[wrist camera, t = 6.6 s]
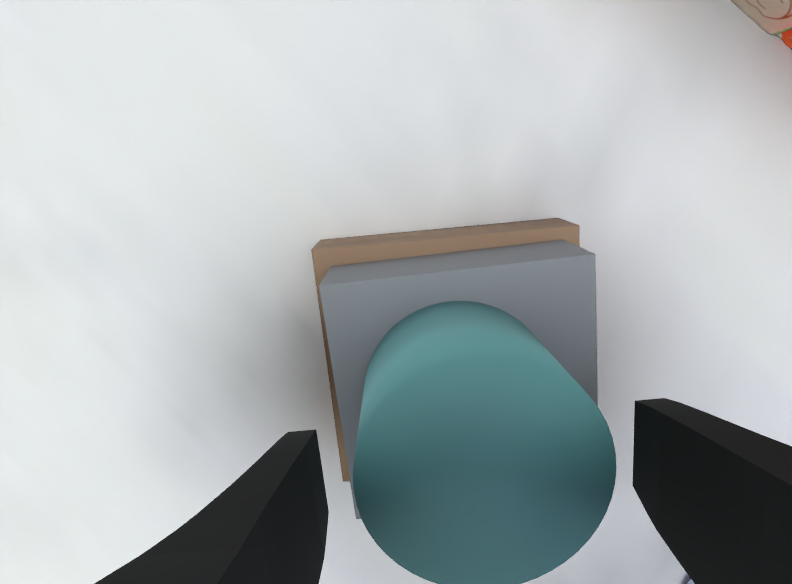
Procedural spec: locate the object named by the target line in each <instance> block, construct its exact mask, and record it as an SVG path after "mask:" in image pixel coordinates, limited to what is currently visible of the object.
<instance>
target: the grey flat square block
mask: <svg viewBox="0 0 792 584" xmlns="http://www.w3.org/2000/svg"><path fill="white" fill-rule="evenodd" d="M319 288H320V295H321V301H322V307H323V314H324V320H325V326H326V332H327V339H328V345H329V351H330V357H331V364H332V370H333V376H334V382H335V389H336V395H337V401H338V407H339V414H340V420H341V426H342V433H343V439H344V445H345V451H346V458H347V464H348V470H349V476H350V483H351V489H352V495H353V501H354V508H355V514H356V519H361V516H360V513H359V510H358V508H357V505H356V500H355V495H354V490H353V465H354V456H355V449H356V442H357V435H358V427H359V420H360V413H361V405H362V398H363V391H364V383H365V376H366V372H367V368H368V364H369V362H370V359H371V357H372V354H373V352H374V351H375V349H376V347H377V346H378V344H379V342H380V341H381V340H382V338H383V337H384V336H385V335H386V333H387V332H388V331H389V330H390V329H391V328H392V327H393V326H394V325H396V324H397V323H398V322H399V321H401V320H402V319H403V318H405V317H406V316H408V315H410V314H412V313H413V312H415V311H417V310H420V309H422V308H424V307H427V306H430V305H434V304H437V303H442V302H449V301H471V302H479V303H483V304H487V305H491V306H493V307H496V308H498V309H501V310H503V311H505V312H507V313H508V314H510V315H512V316H513V317H515V318H516V319H517V320H519V321H520V322H522V323H523V324H524V325H525V326H526V327H527V328H528V329H529V330H530V331H531V332H532V333H533V335H534V336H535V337H536V338H537V339H538V340H539V341H540V342H541V343H542V344H543V346H544V347H545V348H546V349H547V350H548V351H549V352H550V353H551V354H552V355H553V357H554V358H555V359H556V360H557V361H558V362H559V363H560V364H561V365H562V366H563V368H564V369H565V370H566V371H567V372H568V373H569V374H570V375H571V376H572V377H573V379H574V380H575V381H576V382H577V383H578V384H579V385H580V386H581V387H582V388H583V390H584V391H585V392H586V393H587V394H588V395H589V396H590V398H591V399H592V400H593V401H594V403H595V404H596V405H597V407H598V404H597V338H596V272H595V254H594V253H591V252H589V251H587V250H585V249H583V248H581V247H578V246H576V245H574V244H572V243H570V242H568V241H565V240H563V239H561V240H552V241H543V242H535V243H526V244H517V245H509V246H500V247H491V248H482V249H474V250H465V251H456V252H448V253H439V254H430V255H422V256H413V257H404V258H396V259H387V260H378V261H370V262H361V263H352V264H343V265H335V266H330V268H329V270H328V272H327V273H326V275H325V277H324V278H323V280H322V282H321V283H320V285H319Z"/></svg>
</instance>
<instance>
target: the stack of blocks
mask: <svg viewBox="0 0 792 584" xmlns="http://www.w3.org/2000/svg"><path fill="white" fill-rule="evenodd" d="M731 1H733V2H734V3H735V4H736V5H737V6H738V7H739V8H740V9H741V10H742V11H743V12H744V13H746V14H747V15H748V16H749V17H750V18H751V19H752V20H754V21H755V22H756V23H757V24H758V25H759V26H760V27H761V28H762V29H764V30H765V31H766V32H768V33H769V34H773V35H778V36H779V37H780V38H781V39H782V40H783V41H784V43H785V44H786V45H787V46H788V47H790V48H792V0H731Z"/></svg>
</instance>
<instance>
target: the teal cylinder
mask: <svg viewBox="0 0 792 584" xmlns="http://www.w3.org/2000/svg"><path fill="white" fill-rule="evenodd" d="M615 477H616V454H615V448H614V444H613V439H612V436H611V433H610V430H609V427H608V425H607V422H606V420H605V419H604V417H603V415H602V413H601V411H600V410H599V408H598V407H597V405H596V404H595V403H594V401H593V400H592V399H591V398H590V396H589V395H588V394H587V393H586V392H585V391H584V390H583V388H582V387H581V386H580V385H579V384H578V383H577V382H576V381H575V380H574V379H573V377H572V376H571V375H570V374H569V373H568V372H567V371H566V370H565V369H564V368H563V366H562V365H561V364H560V363H559V362H558V361H557V360H556V359H555V358H554V357H553V355H552V354H551V353H550V352H549V351H548V350H547V349H546V348H545V347H544V346H543V344H542V343H541V342H540V341H539V340H538V339H537V338H536V337H535V336H534V335H533V333H532V332H531V331H530V330H529V329H528V328H527V327H526V326H525V325H524V324H523V323H522V322H520V321H519V320H517V319H516V318H515V317H513V316H512V315H510V314H508V313H507V312H505V311H503V310H501V309H498V308H496V307H493V306H491V305H487V304H483V303H479V302H471V301H449V302H442V303H437V304H434V305H430V306H427V307H424V308H422V309H420V310H417V311H415V312H413V313H412V314H410V315H408V316H406V317H405V318H403V319H402V320H401V321H399V322H398V323H397V324H396V325H394V326H393V327H392V328H391V329H390V330H389V331H388V332H387V333H386V335H385V336H384V337H383V338H382V340H381V341H380V342H379V344H378V346H377V347H376V349H375V351H374V352H373V354H372V357H371V359H370V362H369V364H368V368H367V372H366V376H365V383H364V391H363V398H362V405H361V413H360V420H359V427H358V435H357V442H356V449H355V456H354V465H353V490H354V495H355V500H356V505H357V508H358V510H359V513H360V516H361V519H362V521H363V523H364V525H365V527H366V529H367V530H368V532H369V533H370V535H371V536H372V538H373V539H374V541H375V542H376V543H377V545H378V546H379V547H380V548H381V549H382V550H383V551H384V552H385V553H386V554H387V555H388V556H389V557H390V558H391V559H393V560H394V561H395V562H396V563H397V564H399V565H400V566H402V567H403V568H405V569H407V570H408V571H410V572H411V573H413V574H415V575H417V576H419V577H422V578H424V579H426V580H429V581H432V582H435V583H438V584H521V583H524V582H527V581H530V580H532V579H535V578H538V577H540V576H542V575H544V574H546V573H548V572H550V571H552V570H553V569H555V568H556V567H558V566H559V565H561V564H562V563H564V562H565V561H567V560H568V559H569V558H570V557H572V556H573V555H574V554H575V553H576V552H578V551H579V549H580V548H581V547H582V546H583V545H584V544H585V543H586V542H587V541H588V540H589V539H590V537H591V536H592V535H593V533H594V532H595V531H596V529H597V528H598V526H599V524H600V523H601V521H602V519H603V517H604V515H605V514H606V511H607V509H608V506H609V503H610V501H611V498H612V494H613V490H614V485H615Z"/></svg>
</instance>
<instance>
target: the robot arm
mask: <svg viewBox="0 0 792 584" xmlns="http://www.w3.org/2000/svg"><path fill="white" fill-rule="evenodd" d="M633 487H634V489H635V491H636V493H637V495H638V497H639V498H640V500H641V502H642V504H643V506H644V508H645V510H646V512H647V514H648V515H649V517H650V519H651V521H652V523H653V524H654V526H655V528H656V530H657V531H658V533H659V534H660V536H661V537H662V538H663V540H664V541H665V543H666V544H667V546H668V547H669V548H670V550H671V551H672V553H673V554H674V555H675V557H676V558H677V560H678V561H679V563H680V564H681V565H682V567H683V568H684V570H685V571H686V572H687V574H688V575H689V576H690V578H691V579H690V581H689V582H688V583H687V584H792V446H789V445H786V444H784V443H781V442H778V441H776V440H773V439H771V438H768V437H766V436H763V435H760V434H758V433H755V432H753V431H750V430H748V429H745V428H743V427H740V426H738V425H735V424H733V423H730V422H728V421H725V420H723V419H721V418H718V417H716V416H713V415H711V414H708V413H706V412H703V411H700V410H698V409H695V408H693V407H690V406H687V405H684V404H682V403H679V402H676V401H672V400H669V399H665V398H661V399H650V400H639V401H635V419H634V457H633ZM328 513H329V512H328V505H327V498H326V492H325V485H324V479H323V472H322V465H321V459H320V452H319V446H318V439H317V433H316V430H307V431H296V432H288V433H286V434H285V435H284V436H283V437H282V438H281V439H279V440H278V441H277V442H276V443H275V444H274V445H273V446H272V447H271V448H270V449H269V450H268V451H267V452H266V453H265V454H264V455H263V456H262V457H261V458H260V459H259V460H258V461H256V462H255V463H254V464H253V465H252V466H251V467H250V468H249V469H248V470H247V471H246V472H245V473H244V474H243V475H242V476H240V477H239V478H238V479H237V480H236V481H235V482H234V483H233V484H232V485H231V486H229V487H228V488H227V489H226V490H225V491H224V492H222V493H221V494H220V495H219V496H218V497H217V498H215V499H214V500H213V501H212V502H211V503H209V504H208V505H207V506H206V507H205V508H204V509H202V510H201V511H200V512H199V513H198V514H197V515H195V516H194V517H193V518H191V519H190V520H189V521H188V522H186V523H185V524H184V525H182V526H181V527H180V528H178V529H177V530H176V531H174V532H173V533H172V534H170V535H169V536H167V537H166V538H165V539H163V540H162V541H160V542H159V543H158V544H156V545H155V546H153V547H152V548H150V549H149V550H148V551H146V552H145V553H143V554H142V555H140V556H139V557H137V558H135V559H134V560H132V561H131V562H129V563H127V564H126V565H124V566H122V567H121V568H119V569H118V570H116V571H114V572H113V573H111V574H109V575H108V576H106V577H105V578H103V579H101V580H100V581H98V582H96V583H95V584H319V579H320V574H321V570H322V565H323V560H324V554H325V545H326V535H327V524H328Z"/></svg>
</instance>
